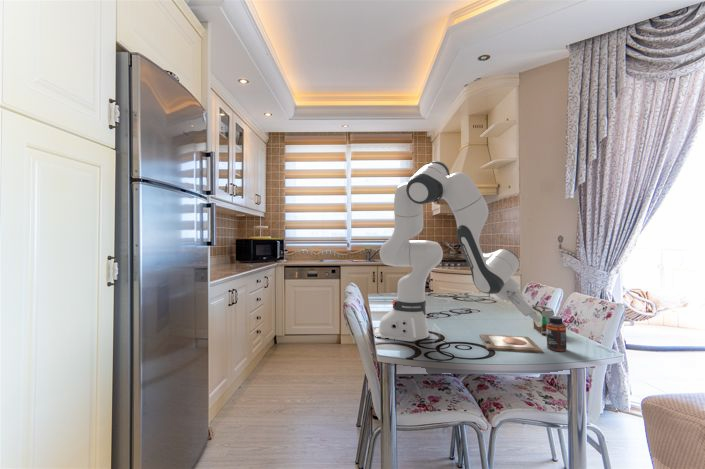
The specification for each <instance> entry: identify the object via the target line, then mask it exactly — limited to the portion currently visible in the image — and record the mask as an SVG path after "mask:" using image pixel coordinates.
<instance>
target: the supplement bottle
mask: <svg viewBox="0 0 705 469" xmlns="http://www.w3.org/2000/svg"><path fill="white" fill-rule="evenodd" d="M546 331H547V335H546V347H547V349H548V350H551V351H554V352H565V351H567V328H566V325H565V324H564V323H563V317H561V316H557V315H554V316H550V317H549V322H548V323H547V324H546Z"/></svg>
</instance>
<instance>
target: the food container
mask: <svg viewBox="0 0 705 469" xmlns="http://www.w3.org/2000/svg"><path fill="white" fill-rule="evenodd" d="M531 307H532V308H533V309H534V311H535V312H536V314H537V316H538V317H539V318H540V319H541V321H540V322H539V323H537V322H536V321H535V320H534V319H532V320H533V321H532V325H533V329H534V331H536V332H537V333H538V334H539V335H540V336H547V331H546V324H547V323H548V322H549V317H550V316H555V311H554V309H553V308H551V307H548V306H541V305H532V306H531Z"/></svg>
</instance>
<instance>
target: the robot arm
mask: <svg viewBox="0 0 705 469" xmlns="http://www.w3.org/2000/svg"><path fill="white" fill-rule="evenodd" d="M441 199H442V200H444V201H445V202H446V204H447V205H448V206H449V208H450V210H451V212H452V214H453V215H454V219H455V222H456V236H457V240H458V243H459V245H460V247H461V250H462V253H463V255H464V258H465V259H466V263H467V265H468V267H469V268H468V269H469V270H470V272H471V273H470V274H471V277H472V282H473V284H474V286H475V287H476V289H477V290H478V291H479V292H481V293H483V294H487V295H494V296H495V297H497V299H499V300H500V301H501V302H503V301H505V302H506V303H509V302H510V303H511V304H512V305H513V306H514V307H515V308H516V309H517V310H518V311H519V312H520V313H521V314H522V315H523V316H524V317H529V318H531V319H532V320H533V319H534V320H535V321H536V322H537V323H539V322H540V321H541V319H540V318H539V317H538V316H537V314H536V312H535V311H534V309H533V308H532V307H533V306H532V305H531V304H530V303H529V302H528V300H527V299H526V297H525V296H524V295H523V294H522V293H521V290H520V289H519V287H520V284H519V283H518V282H517V281H516V280H515V279H514V278H513V275H514V274H515V273H516V272H517V271H518V269H519V267H520V266H521V261H520V260H519V257H518V256H517V255H516V253H514V252H513V251H511V250H510V249H508V248H499V249H497V250H494V251H492V252H487V253H485V252H483V251H482V248H481V245H480V237H481V233H482V230H483V228H484V226H485V224H486V222H487V219H488V217H489V213H490V212H489V206H488V204H487V202H486V200H485V197H484V196H483V194H482V192H481V191H480V189H479V188H478V186H477V185H476V183H475V182H474V181H473V179H472V178H471V177H470V176H469V175H468V174H467V173H465V172H463V171H460V172H459V171H457V172H454V173H452V174H450V170H449V168H448V166H447V165H446V164H445V163H444V162H441V161H438V160H436V161H435V160H434V161H430V162H427V163H426V164H425V165H423V166H422V167H420V168H419V169H418V170H417V171H416V172H415V173H414V175H413V176H411V177H410V178H409V180H408V182H403V183H401V184H399V185H398V186H397V187H396V188H395V192H394V200H393V211H394V228H393V233H392V234H391V236H390V237H389V239H387V240H386V241H384V243H382V245H381V247H380V249H379V258H380V261H381V262H382V263H383V265H387V266H391V267H395V268H396V267H397V268H398V267H401V268H412V271H411V272H410V273H409V274H406V275H404V276H402V277H401V278H400V279H398V281H397V299H396V298H394V299H392V309H391V310H389V311H388V312H387V313H386V314H384V315H383V316H382V317H381V319H380V322H379V326H378V327H376V328H375V330H374V331H373V335H374V334H375V335H376V336H377V337H381V338H380V339H385V338H389V339H388V340H394V339H395V340H396V341H404V342H415V341H419V340H424V339H427V338H428V337H429V336H430V332H429V330H428V329H429V328H428V324H427V318H426V315H427V302H426V298H425V297H426V296H425V295H426V294H425V293H426V283H427V280H428V277H429V274H431V272H432V271H433V269H435V268H436V267H438V266H439V265H440V263H441V262H442V260H443V258H444V252H443V248H442V246H441V245H440V243H439V242H438V241H432V240H428V239H425V240H423V239H422V240H421V239H420V240H416V239H415V240H414V239H413V240H411V239H412V238H414V237H416V236H418V235H420V233H421V232H422V231H423V229H424V205H426V204H430V203H437V202H439V201H441ZM377 337H376V338H377ZM395 340H394V341H395Z"/></svg>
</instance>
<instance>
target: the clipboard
mask: <svg viewBox="0 0 705 469" xmlns="http://www.w3.org/2000/svg"><path fill="white" fill-rule="evenodd" d="M479 338H480V340H481V341H482V342H483V345H484V346H485V348H486V350H487V351H503V352H506V351H507V352H522V353H540V354H544V350H543V349H542V348H541V347H540V346H539V345H538V344H536V343H535V341H533V339H531V338H530V337H528V336H519V335H499V334H498V335H497V334H483V333H482V334H481V333H480V334H479Z"/></svg>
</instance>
